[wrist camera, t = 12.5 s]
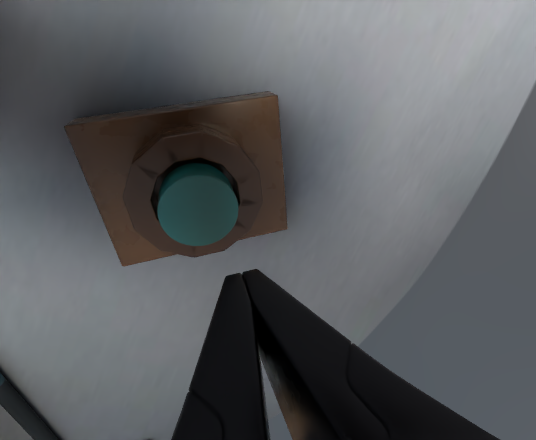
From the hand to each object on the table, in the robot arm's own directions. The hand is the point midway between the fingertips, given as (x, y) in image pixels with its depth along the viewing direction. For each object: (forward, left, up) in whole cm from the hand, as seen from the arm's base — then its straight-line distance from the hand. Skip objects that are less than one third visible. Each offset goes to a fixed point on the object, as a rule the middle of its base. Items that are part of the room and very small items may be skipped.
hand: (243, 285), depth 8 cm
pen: (-14, -23, -9) cm, 28 cm away
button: (-1, -1, -8) cm, 9 cm away
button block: (-1, -1, -11) cm, 11 cm away
